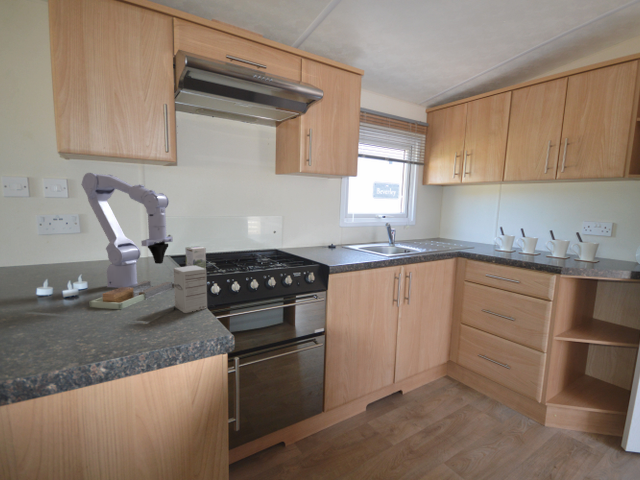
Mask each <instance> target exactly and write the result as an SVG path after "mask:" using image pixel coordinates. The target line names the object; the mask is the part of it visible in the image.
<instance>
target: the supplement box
mask: <svg viewBox="0 0 640 480" xmlns="http://www.w3.org/2000/svg"><path fill="white" fill-rule="evenodd" d="M207 281H208V279H207V268H206V269H204V268H201V267H199V266H196V265H195V266H186V265H185V266H181V267H174V268H173V287H174V288H173V289H174V307H175V308H176V309H178V310H179V311H181V312H182V313H184V314H187V313H193V312H196V310H198V311H201V310H200V309H202V310H205V307H206V309H208V292H207V291H208V286H207V285H208V284H207ZM192 311H193V312H192Z"/></svg>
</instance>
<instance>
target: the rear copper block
mask: <svg viewBox="0 0 640 480" xmlns="http://www.w3.org/2000/svg"><path fill="white" fill-rule="evenodd" d="M114 290H118V291H124V297H125V301H126V300H128V299H131V298H134V293H133V288H131V287H121V288H115V289H114Z"/></svg>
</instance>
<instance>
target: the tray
mask: <svg viewBox="0 0 640 480" xmlns="http://www.w3.org/2000/svg"><path fill="white" fill-rule="evenodd" d="M144 300H146V299H145V294H141V295H139V296H136V297H134V298H131V299H128V300H126V301H123V302H121V303H116V302H103V296H101V297H98V298H96V299H92V300H89V301H88V302H89V303H88V304H89V308H96V309H97V308H99V309H111V310H112V309H113V310H122V309H123V310H124V309H125V308H127V307H129V306H131V305H134V304H137V303H139V302H142V301H144Z"/></svg>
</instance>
